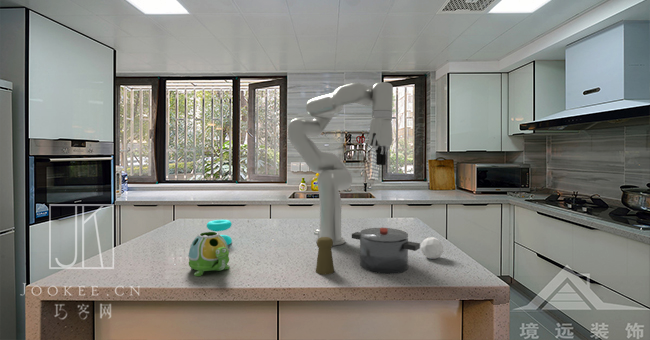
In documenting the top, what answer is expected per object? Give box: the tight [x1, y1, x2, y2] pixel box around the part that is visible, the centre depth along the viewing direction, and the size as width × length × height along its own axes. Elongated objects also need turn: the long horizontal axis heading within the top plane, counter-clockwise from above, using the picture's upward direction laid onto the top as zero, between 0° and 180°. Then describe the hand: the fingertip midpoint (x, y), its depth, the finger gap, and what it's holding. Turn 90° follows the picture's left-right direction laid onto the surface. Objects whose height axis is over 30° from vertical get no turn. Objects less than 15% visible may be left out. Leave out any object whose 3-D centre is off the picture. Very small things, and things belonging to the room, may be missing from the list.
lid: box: [359, 227, 409, 242], centre depth 104 cm, size 16×16×3 cm
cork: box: [315, 237, 335, 276], centre depth 98 cm, size 6×6×11 cm
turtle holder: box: [187, 230, 231, 277], centre depth 98 cm, size 12×18×12 cm
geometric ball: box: [420, 236, 444, 260], centre depth 111 cm, size 8×8×8 cm
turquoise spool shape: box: [206, 219, 233, 246], centre depth 129 cm, size 10×10×10 cm
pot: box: [351, 231, 421, 275], centre depth 104 cm, size 24×16×10 cm, turn 50°
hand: (380, 164), depth 116 cm, fingers closed
